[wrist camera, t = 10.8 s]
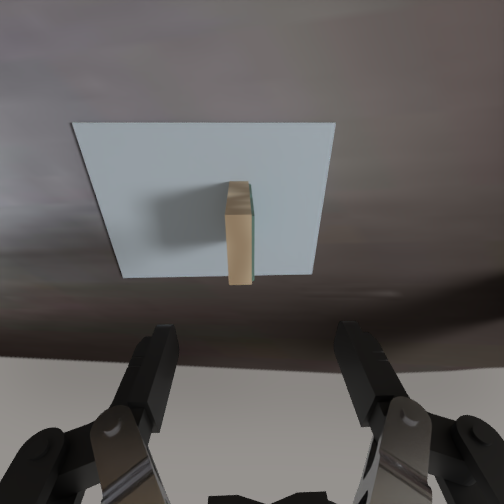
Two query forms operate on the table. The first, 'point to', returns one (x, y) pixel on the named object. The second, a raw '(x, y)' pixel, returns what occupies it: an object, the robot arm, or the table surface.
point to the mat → (207, 192)
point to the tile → (240, 233)
